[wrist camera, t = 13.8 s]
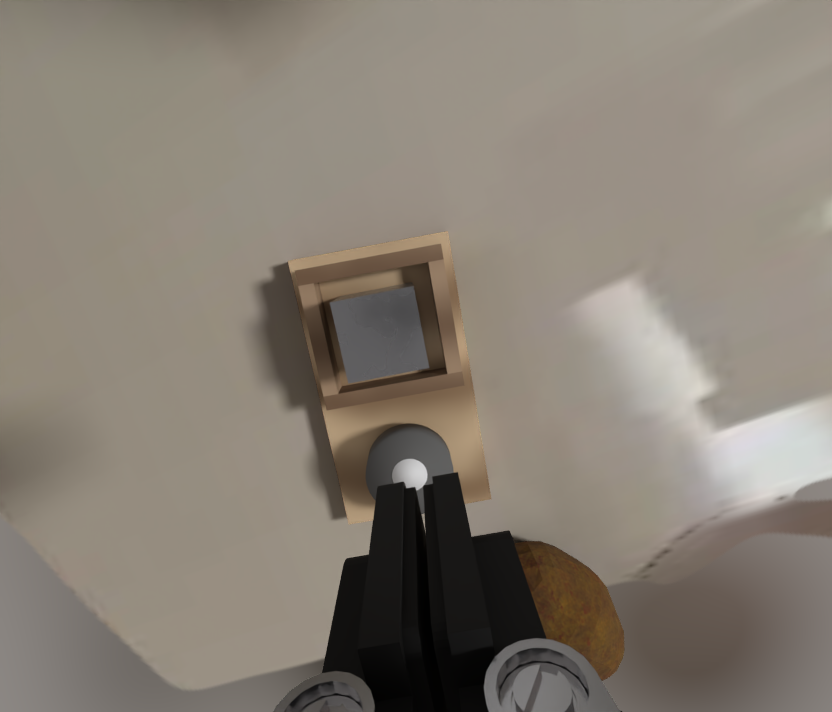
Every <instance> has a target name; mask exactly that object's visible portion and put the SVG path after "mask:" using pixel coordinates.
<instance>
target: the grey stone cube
mask: <svg viewBox="0 0 832 712" xmlns="http://www.w3.org/2000/svg"><path fill="white" fill-rule="evenodd" d="M330 306H331V310H332V315H333V319H334V323H335V328H336V332H337V336H338V341H339V345H340V350H341V354H342V358H343V363H344V367H345V371H346V376H347V380H348V384H349V383H354V382H359V381H365V380H370V379H375V378H380V377H385V376H390V375H396V374H401V373H406V372H411V371H416V370H421V369H427V368H429V364H428V359H427V353H426V348H425V343H424V338H423V333H422V327H421V322H420V317H419V312H418V306H417V301H416V296H415V291H414V286H413V283H412V282H410V283H404V284H399V285H394V286H389V287H384V288H379V289H374V290H369V291H364V292H359V293H354V294H348V295H343V296H340V297H338V298H337V299H335V300H333V301H331V302H330Z"/></svg>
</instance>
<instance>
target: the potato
mask: <svg viewBox="0 0 832 712" xmlns="http://www.w3.org/2000/svg"><path fill="white" fill-rule="evenodd" d="M514 544H515V547H516V550H517V553H518V556H519V559H520V562H521V565H522V568H523V571H524V574H525V577H526V579H527V582H528V585H529V588H530V591H531V594H532V597H533V600H534V603H535V606H536V609H537V612H538V615H539V618H540V620H541V623H542V626H543V629H544V632H545V635H546V638H547V639H549V640H554V641H557V642H560V643H563V644H565V645H568V646H570V647H571V648H573V649H574V650H576V651H577V652H578V653H580V654H581V655H583V656H584V657H585V658H586V660H587V661H588V662H589V663H590V664H591V666H592V667H593V668H594V669H595V671H596V672H597V674H598V676H599V677H600V679H601V681H603V680H605V679H607V678H608V677H610V676H611V675H612V674H614V673H615V672H616V671H617V669H618V667H619V665H620V663H621V661H622V658H623V654H624V631H623V629H622V626H621V623H620V621H619V618H618V615H617V613H616V610H615V608H614V605H613V603H612V600H611V597H610V595H609V592H608V589H607V587H606V586H605V585H604V583H603V582H602V581H601V580H600V578H599V577H598V576H597V575H596V574H595V573H594V572H593V571H592V570H591V569H590V568H589V567H587V566H586V565H584V564H583V563H581V562H580V561H578V560H577V559H575V558H573V557H572V556H570V555H568V554H567V553H565V552H563V551H562V550H560V549H558V548H557V547H555V546H552V545H549V544H546V543H543V542H541V541H525V542H519V543H514Z"/></svg>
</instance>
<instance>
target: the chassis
mask: <svg viewBox="0 0 832 712" xmlns="http://www.w3.org/2000/svg"><path fill="white" fill-rule="evenodd" d="M288 264H289V268H290V273H291V277H292V281H293V286H294V290H295V294H296V299H297V303H298V307H299V312H300V316H301V320H302V325H303V329H304V333H305V337H306V342H307V346H308V350H309V355H310V359H311V363H312V368H313V372H314V376H315V381H316V385H317V389H318V394H319V398H320V402H321V406H322V411H323V415H324V419H325V424H326V428H327V432H328V437H329V441H330V445H331V450H332V454H333V458H334V463H335V467H336V471H337V475H338V480H339V484H340V488H341V493H342V497H343V501H344V506H345V510H346V514H347V519H348V523H349V524H355V523H360V522H366V521H371V520H373V518H374V510H375V500H374V498H373V497H372V496H371V494H370V492H369V490H368V487H367V484H366V466H367V460H368V455H369V451H370V449H371V446H372V444H373V443H374V441H375V440H376V439H377V437H378V436H379V435H380V434H382V433H383V432H384V431H386V430H387V429H389V428H391V427H393V426H396V425H400V424H406V423H413V424H419V425H423V426H426V427H428V428H430V429H432V430H434V431H435V432H436V433H438V434H439V435H440V436H441V437H442V439H443V440H444V441H445V443H446V445H447V447H448V449H449V452H450V456H451V460H452V464H453V470H454V473H455V472H458V475H459V479H460V484H461V489H462V494H463V499H464V504H466V503H472V502H478V501H483V500H489V499H491V494H490V488H489V482H488V476H487V469H486V463H485V457H484V451H483V445H482V439H481V432H480V426H479V420H478V414H477V408H476V402H475V395H474V389H473V383H472V377H471V371H470V365H469V358H468V352H467V346H466V340H465V334H464V328H463V321H462V315H461V309H460V303H459V297H458V291H457V285H456V278H455V272H454V266H453V260H452V254H451V248H450V241H449V235H448V231H446V232H440V233H435V234H430V235H424V236H419V237H414V238H408V239H403V240H397V241H392V242H387V243H381V244H376V245H370V246H365V247H360V248H354V249H349V250H343V251H338V252H333V253H327V254H322V255H317V256H311V257H306V258H300V259H295V260H290V261H288ZM410 282H412V283H413V286H414V291H415V296H416V301H417V306H418V312H419V317H420V322H421V327H422V333H423V338H424V343H425V348H426V353H427V359H428V364H429V368H427V369H421V370H416V371H411V372H406V373H401V374H396V375H390V376H385V377H380V378H375V379H370V380H365V381H359V382H354V383H349V384H348V380H347V376H346V371H345V367H344V363H343V358H342V354H341V350H340V345H339V341H338V336H337V332H336V328H335V323H334V319H333V315H332V310H331V306H330V302H331V301H333V300H335V299H337V298H338V297H340V296H343V295H348V294H354V293H359V292H364V291H369V290H374V289H379V288H384V287H389V286H394V285H399V284H404V283H410Z"/></svg>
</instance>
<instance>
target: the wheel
mask: <svg viewBox="0 0 832 712" xmlns="http://www.w3.org/2000/svg"><path fill="white" fill-rule="evenodd" d="M449 473H454V470H453V464H452V460H451V456H450V452H449V449H448V447H447V445H446V443H445V441H444V440H443V439H442V437H441V436H440V435H439V434H438V433H436V432H435V431H434V430H432V429H430V428H428V427H426V426H423V425H419V424H413V423H406V424H400V425H396V426H393V427H391V428H389V429H387V430H386V431H384V432H383V433H382V434H380V435H379V436H378V437H377V439H376V440H375V441H374V443H373V444H372V446H371V449H370V451H369V455H368V460H367V466H366V484H367V487H368V490H369V492H370V494H371V496H372V497H373V498H374V500H375V501H376V493H377V487H378V486H381V485H387V484H393V483H398V482H404V483H405V486H406V488H411V487H415V488H416V491H417V496H418V500H419V505H420V510H421V514H423V513H425V511H424V493H423V485H428V484H433V481H432V476H438V475H443V474H449Z"/></svg>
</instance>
